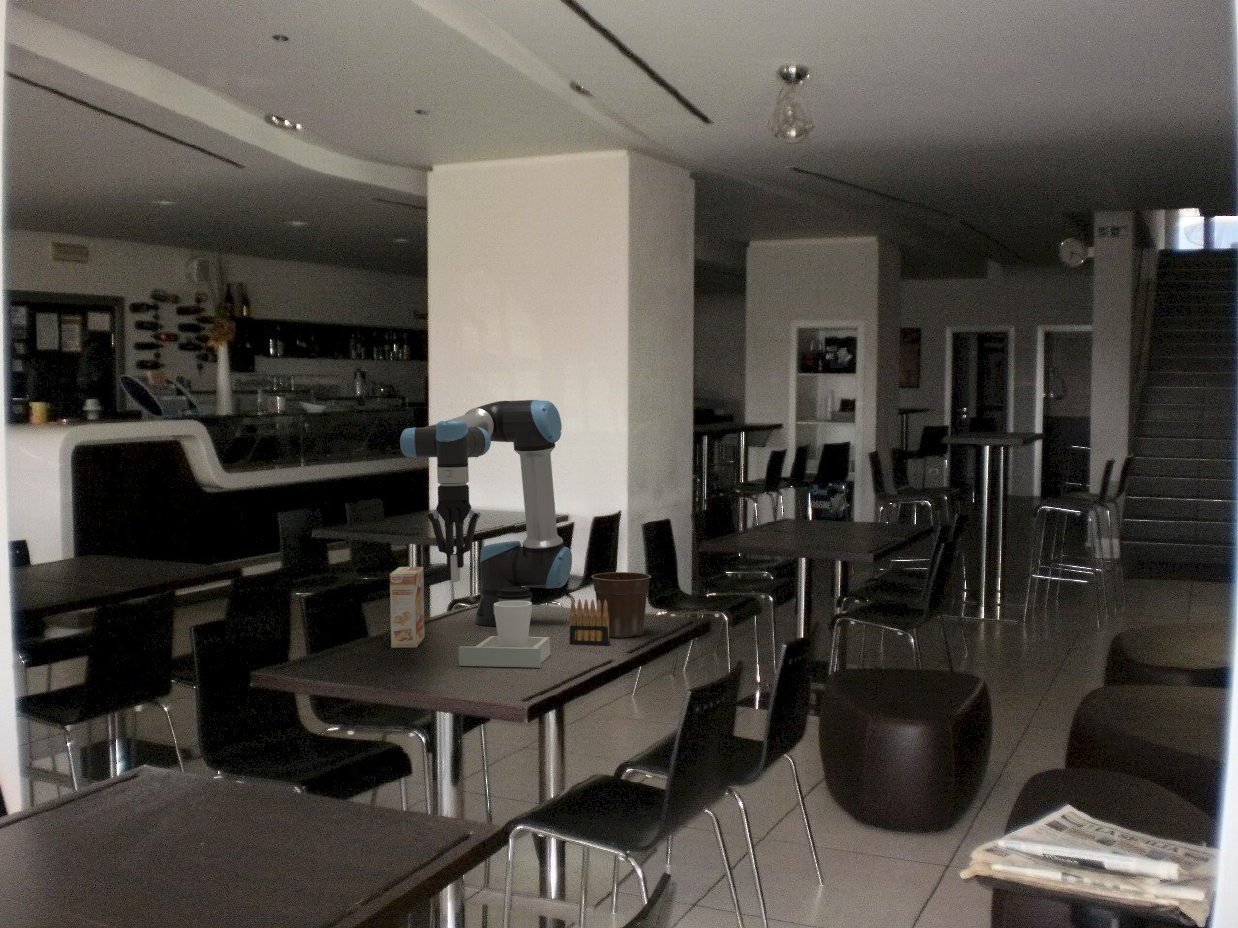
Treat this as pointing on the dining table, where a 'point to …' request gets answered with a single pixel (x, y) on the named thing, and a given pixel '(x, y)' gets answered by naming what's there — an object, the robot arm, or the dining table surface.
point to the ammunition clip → (589, 625)
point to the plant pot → (623, 601)
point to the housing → (532, 643)
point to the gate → (499, 656)
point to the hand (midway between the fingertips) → (455, 580)
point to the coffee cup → (514, 594)
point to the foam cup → (513, 623)
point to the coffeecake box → (407, 607)
